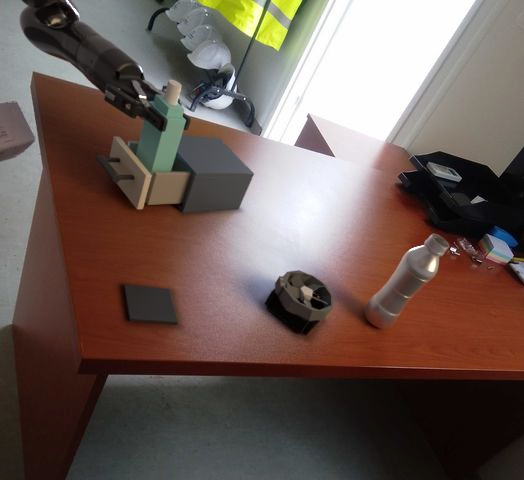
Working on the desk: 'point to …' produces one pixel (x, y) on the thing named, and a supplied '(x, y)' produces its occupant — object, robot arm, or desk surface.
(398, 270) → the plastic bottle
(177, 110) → the soap bottle
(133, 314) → the mat
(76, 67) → the robot arm
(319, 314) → the cpu cooler
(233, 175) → the cabinet
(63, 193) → the desk surface
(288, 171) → the desk surface
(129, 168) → the drawer
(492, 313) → the desk surface
